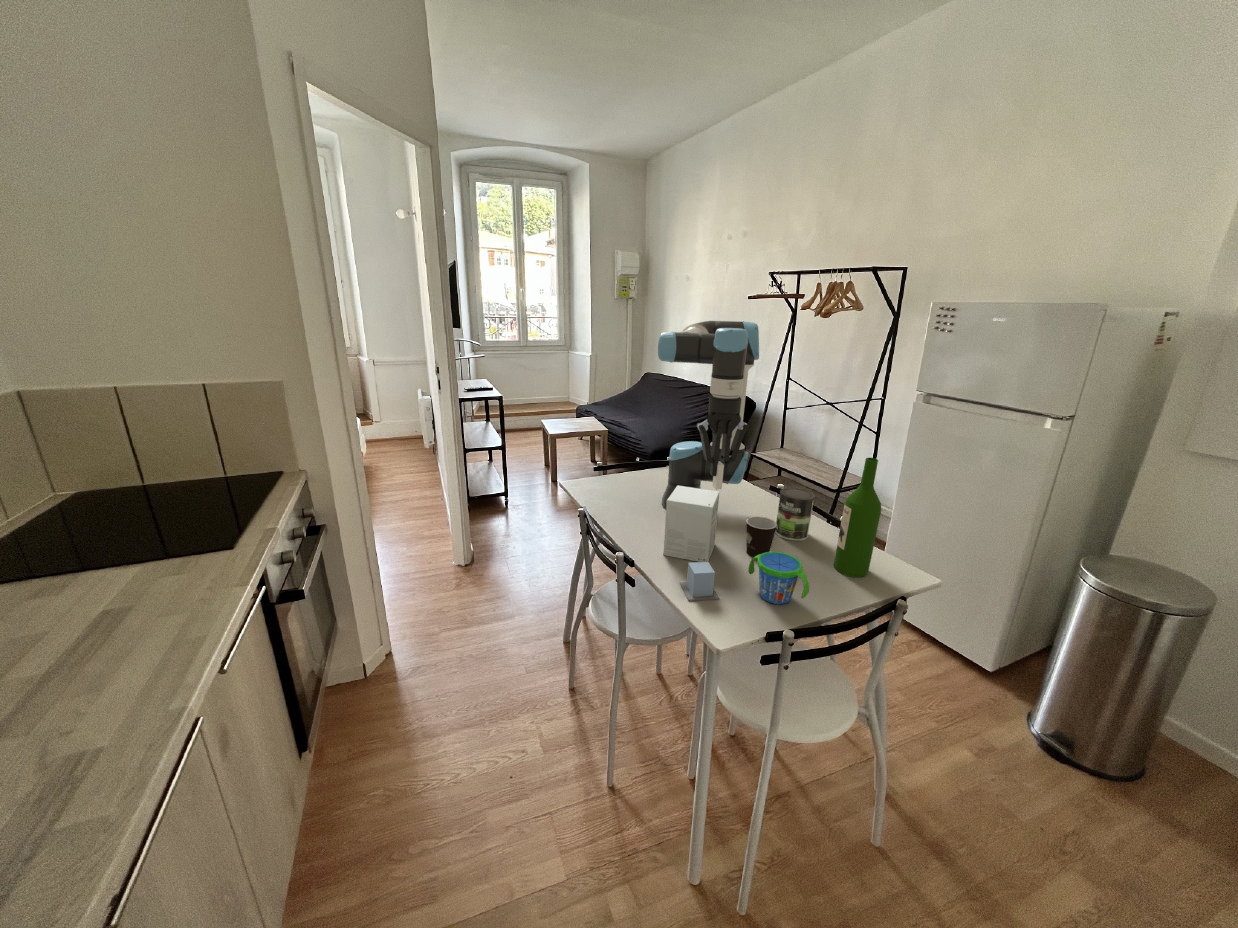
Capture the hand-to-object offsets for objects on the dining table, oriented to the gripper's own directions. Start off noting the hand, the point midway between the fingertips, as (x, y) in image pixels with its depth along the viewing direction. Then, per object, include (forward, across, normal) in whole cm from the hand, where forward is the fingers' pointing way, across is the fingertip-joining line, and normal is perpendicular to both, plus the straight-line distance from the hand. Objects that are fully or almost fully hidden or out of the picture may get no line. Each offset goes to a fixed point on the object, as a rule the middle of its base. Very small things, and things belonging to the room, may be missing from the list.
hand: (717, 487), depth 125 cm
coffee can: (+26, +35, +22) cm, 49 cm away
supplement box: (+26, -1, +15) cm, 30 cm away
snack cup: (+26, +13, -12) cm, 31 cm away
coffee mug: (+26, +19, +12) cm, 34 cm away
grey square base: (+26, -5, -7) cm, 27 cm away
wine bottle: (+26, +41, -1) cm, 49 cm away
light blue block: (+25, -5, -8) cm, 27 cm away
